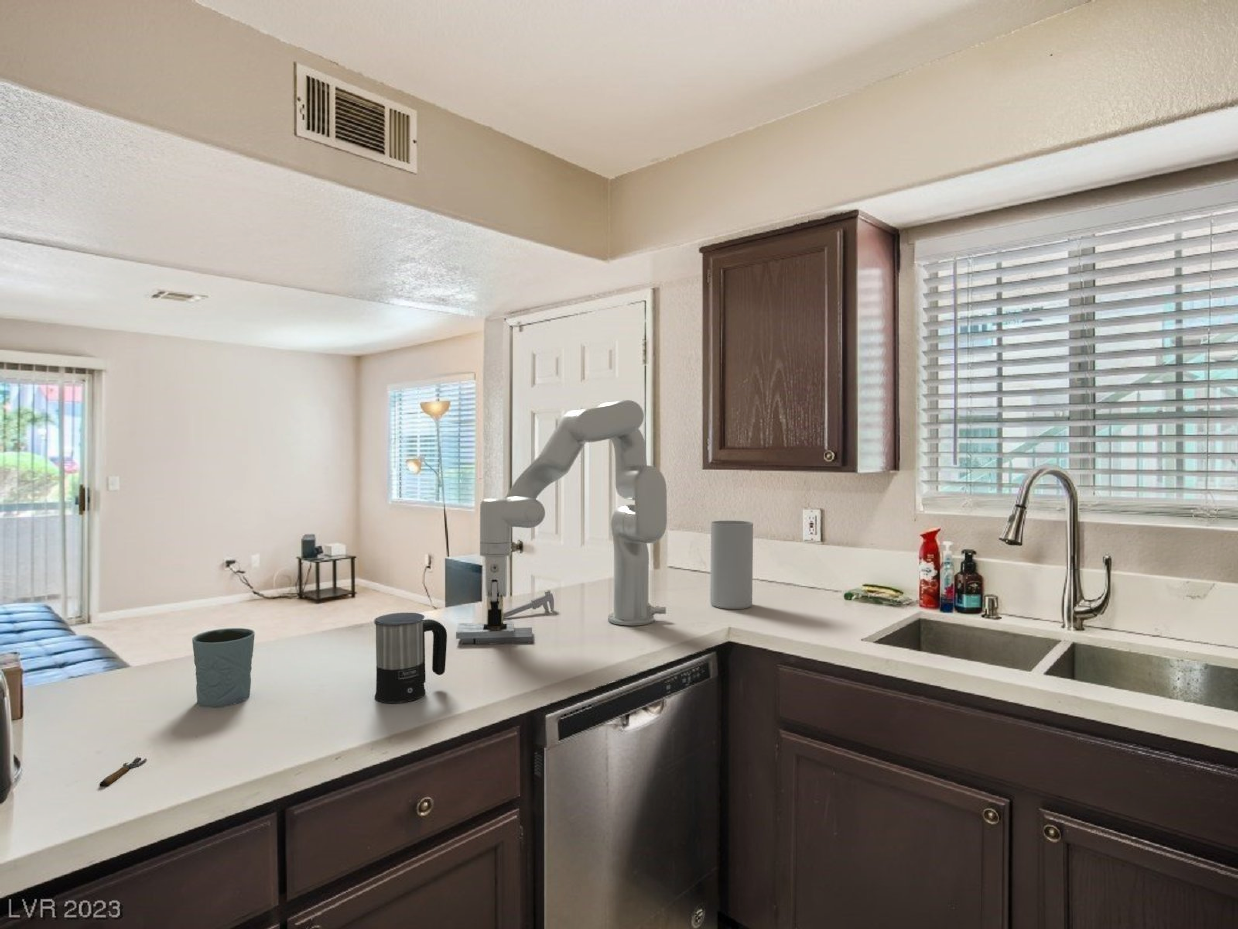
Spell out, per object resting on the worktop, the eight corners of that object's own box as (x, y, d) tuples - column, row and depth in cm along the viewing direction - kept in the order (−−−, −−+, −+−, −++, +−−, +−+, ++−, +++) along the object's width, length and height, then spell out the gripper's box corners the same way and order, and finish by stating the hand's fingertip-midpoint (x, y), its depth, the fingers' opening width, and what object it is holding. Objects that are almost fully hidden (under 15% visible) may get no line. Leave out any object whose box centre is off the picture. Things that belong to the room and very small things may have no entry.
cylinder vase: (755, 610, 209) (756, 524, 208) (712, 609, 209) (713, 524, 208) (748, 601, 221) (749, 520, 221) (708, 600, 221) (708, 520, 221)
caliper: (551, 610, 208) (551, 589, 207) (554, 611, 207) (554, 589, 207) (490, 621, 194) (490, 598, 194) (492, 622, 193) (492, 599, 193)
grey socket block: (531, 633, 181) (531, 621, 181) (532, 642, 172) (532, 630, 172) (459, 635, 178) (459, 623, 178) (456, 645, 169) (456, 632, 169)
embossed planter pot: (241, 686, 139) (240, 625, 139) (264, 698, 133) (264, 634, 132) (183, 700, 131) (183, 635, 131) (205, 713, 125) (205, 645, 124)
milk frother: (396, 708, 128) (396, 626, 128) (340, 691, 136) (340, 614, 136) (454, 686, 140) (454, 611, 140) (399, 672, 148) (399, 601, 148)
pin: (503, 629, 177) (503, 589, 177) (502, 634, 173) (503, 592, 173) (486, 630, 177) (487, 590, 176) (486, 634, 173) (486, 593, 173)
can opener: (106, 789, 97) (106, 781, 97) (89, 789, 98) (89, 781, 98) (151, 761, 106) (151, 753, 106) (136, 761, 107) (136, 753, 107)
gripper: (510, 553, 167) (509, 631, 167) (511, 544, 183) (510, 615, 184) (477, 554, 166) (477, 632, 166) (481, 544, 182) (481, 616, 183)
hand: (495, 622), depth 175 cm, fingers closed on pin, 4 cm apart
